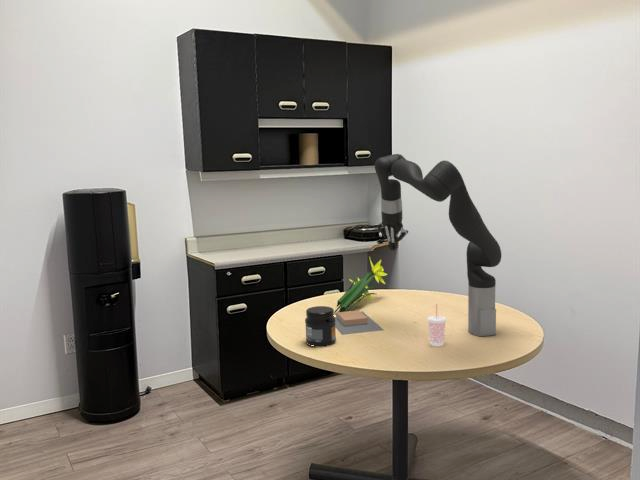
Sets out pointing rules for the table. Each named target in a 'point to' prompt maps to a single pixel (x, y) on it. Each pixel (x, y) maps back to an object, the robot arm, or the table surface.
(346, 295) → the daffodil flowers
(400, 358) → the table surface
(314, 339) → the supplement container
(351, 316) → the tile
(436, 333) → the beverage cup
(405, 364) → the table surface
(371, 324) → the felt mat
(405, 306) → the table surface
